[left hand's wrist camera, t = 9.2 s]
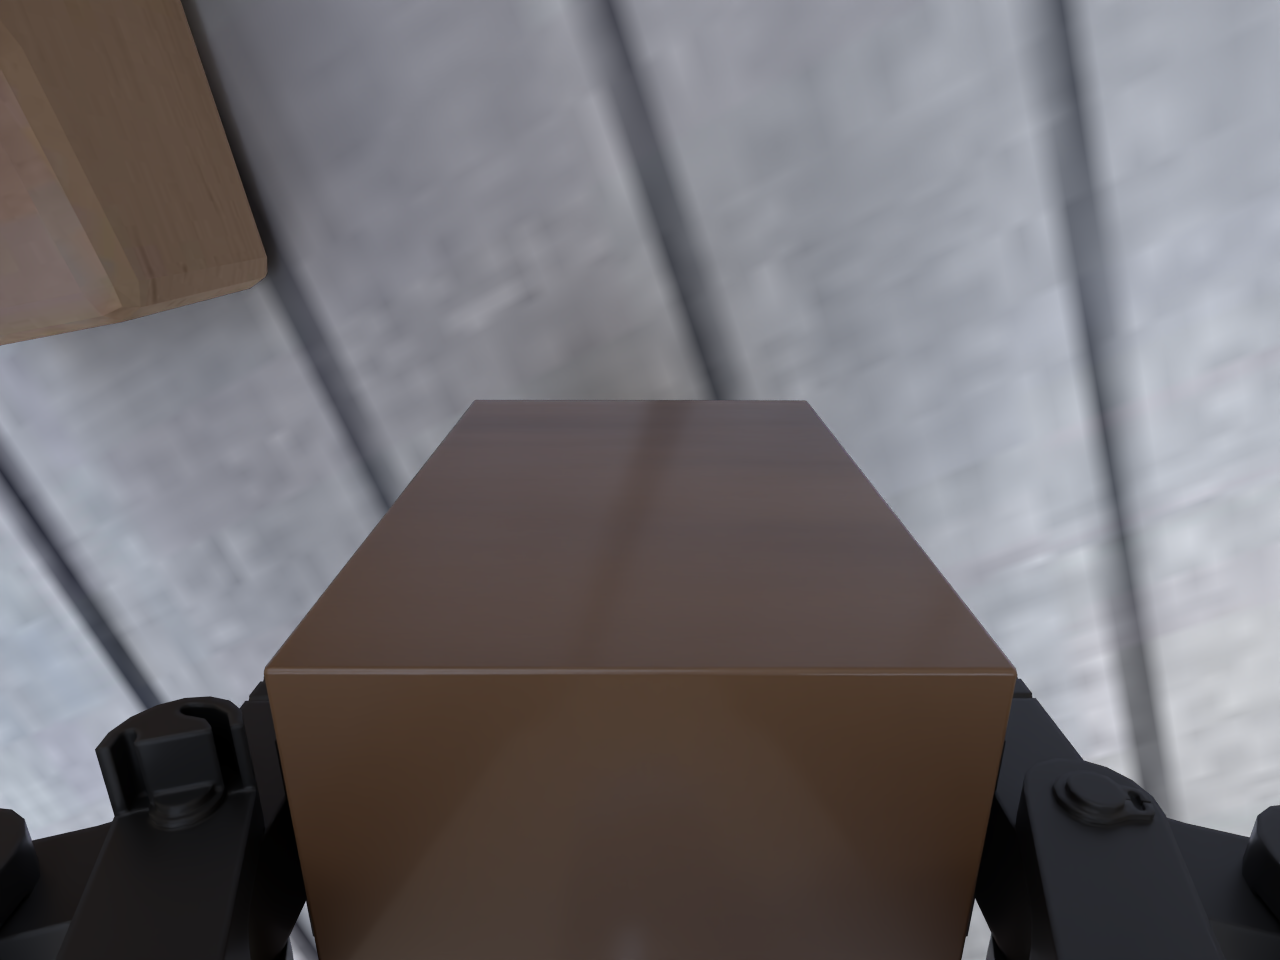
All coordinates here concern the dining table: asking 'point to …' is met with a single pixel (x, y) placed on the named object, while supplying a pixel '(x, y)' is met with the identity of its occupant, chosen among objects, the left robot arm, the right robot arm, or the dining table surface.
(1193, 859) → the left robot arm
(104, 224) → the decorative block
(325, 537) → the dining table surface
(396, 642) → the bar
